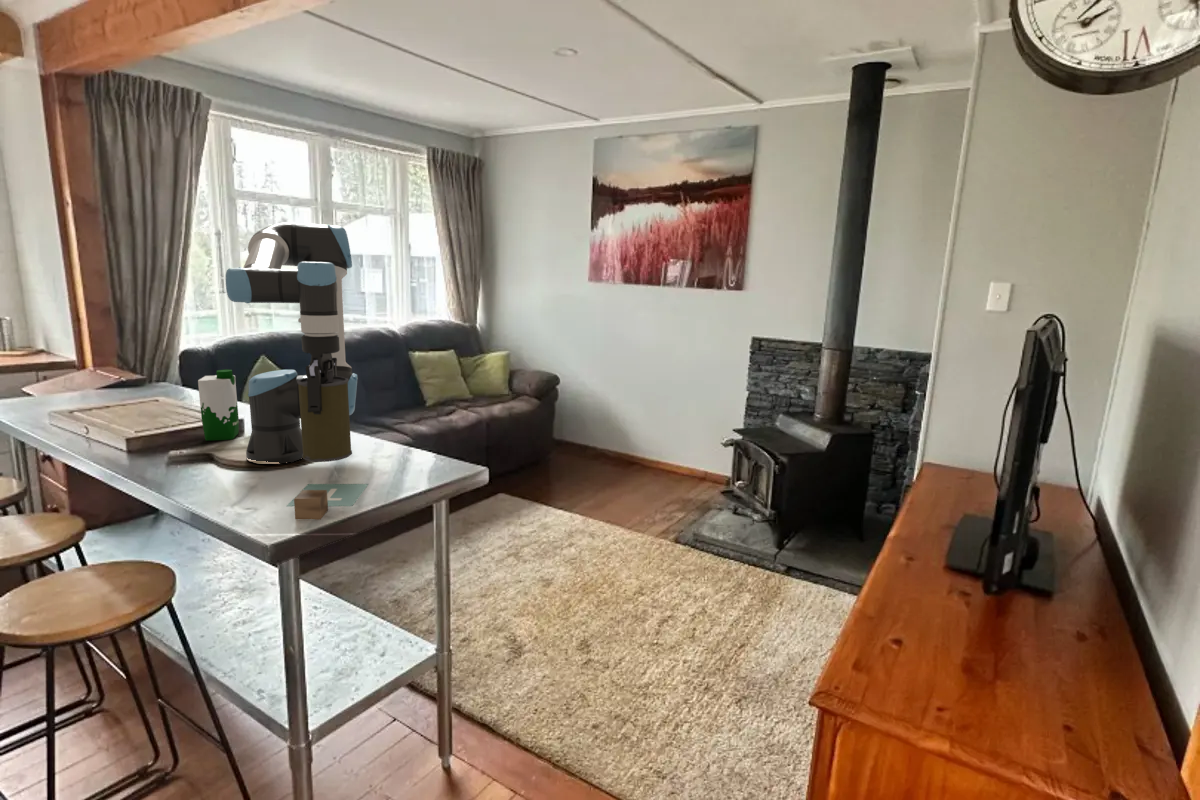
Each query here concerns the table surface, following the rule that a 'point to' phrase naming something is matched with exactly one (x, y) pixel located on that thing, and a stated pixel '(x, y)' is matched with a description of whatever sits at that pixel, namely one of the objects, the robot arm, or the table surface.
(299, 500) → the block
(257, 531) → the table surface
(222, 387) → the milk carton
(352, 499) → the letter card
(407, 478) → the table surface
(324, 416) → the canister
